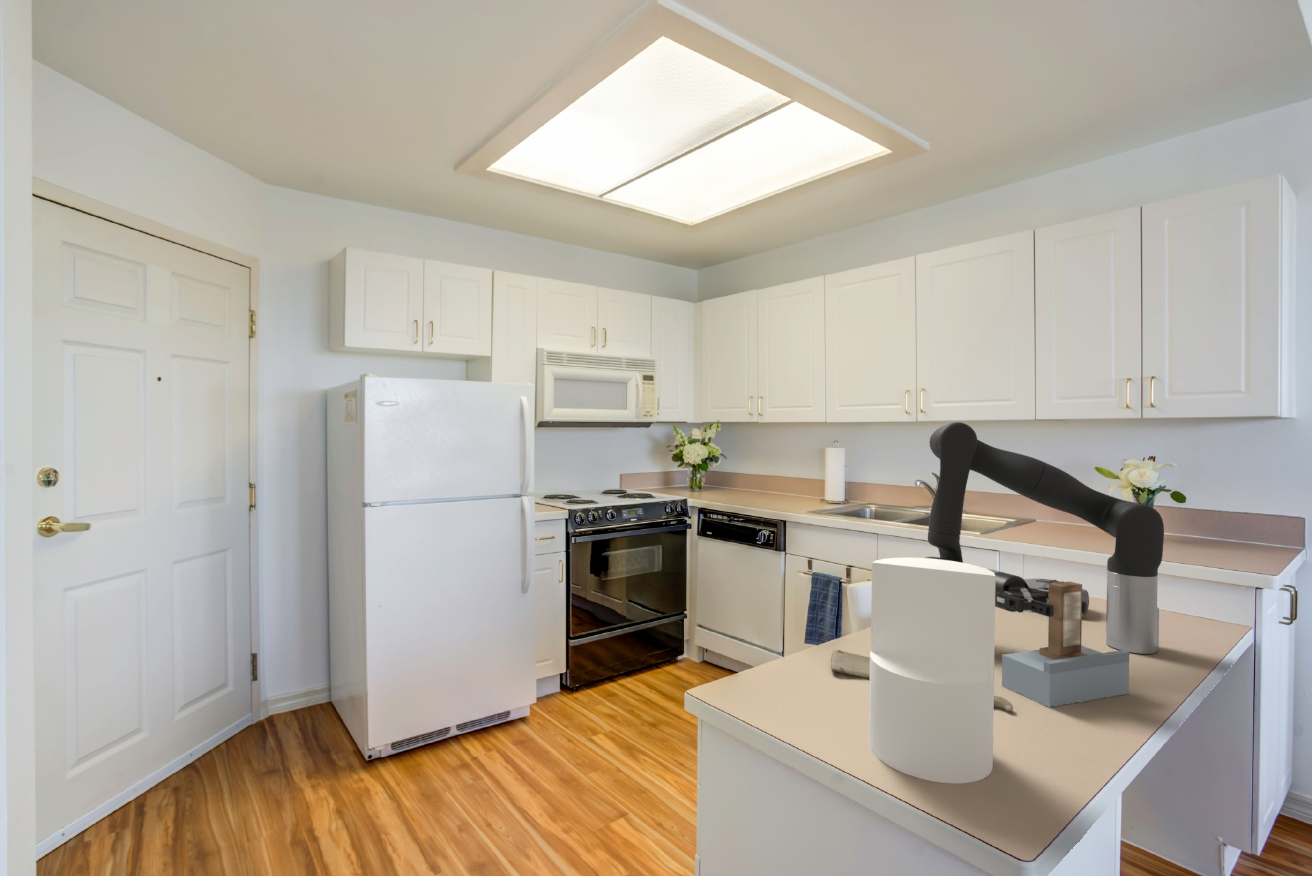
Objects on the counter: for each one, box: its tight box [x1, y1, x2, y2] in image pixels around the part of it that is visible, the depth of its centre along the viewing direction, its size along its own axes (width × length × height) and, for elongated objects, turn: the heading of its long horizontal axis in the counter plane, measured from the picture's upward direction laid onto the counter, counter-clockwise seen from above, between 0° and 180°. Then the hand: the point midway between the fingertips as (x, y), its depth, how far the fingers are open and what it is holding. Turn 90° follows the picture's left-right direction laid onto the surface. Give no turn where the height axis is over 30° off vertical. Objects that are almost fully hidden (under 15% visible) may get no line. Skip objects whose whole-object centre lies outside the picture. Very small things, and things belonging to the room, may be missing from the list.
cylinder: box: [868, 557, 996, 784], centre depth 95 cm, size 17×17×28 cm
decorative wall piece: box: [830, 649, 1014, 712], centre depth 126 cm, size 30×3×30 cm
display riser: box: [1001, 645, 1130, 708], centre depth 119 cm, size 20×10×8 cm, turn 109°
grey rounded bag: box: [1023, 578, 1090, 616], centre depth 176 cm, size 15×8×20 cm
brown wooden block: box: [1039, 581, 1087, 660], centre depth 119 cm, size 6×6×14 cm
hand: (1069, 609), depth 118 cm, fingers open, 8 cm apart
